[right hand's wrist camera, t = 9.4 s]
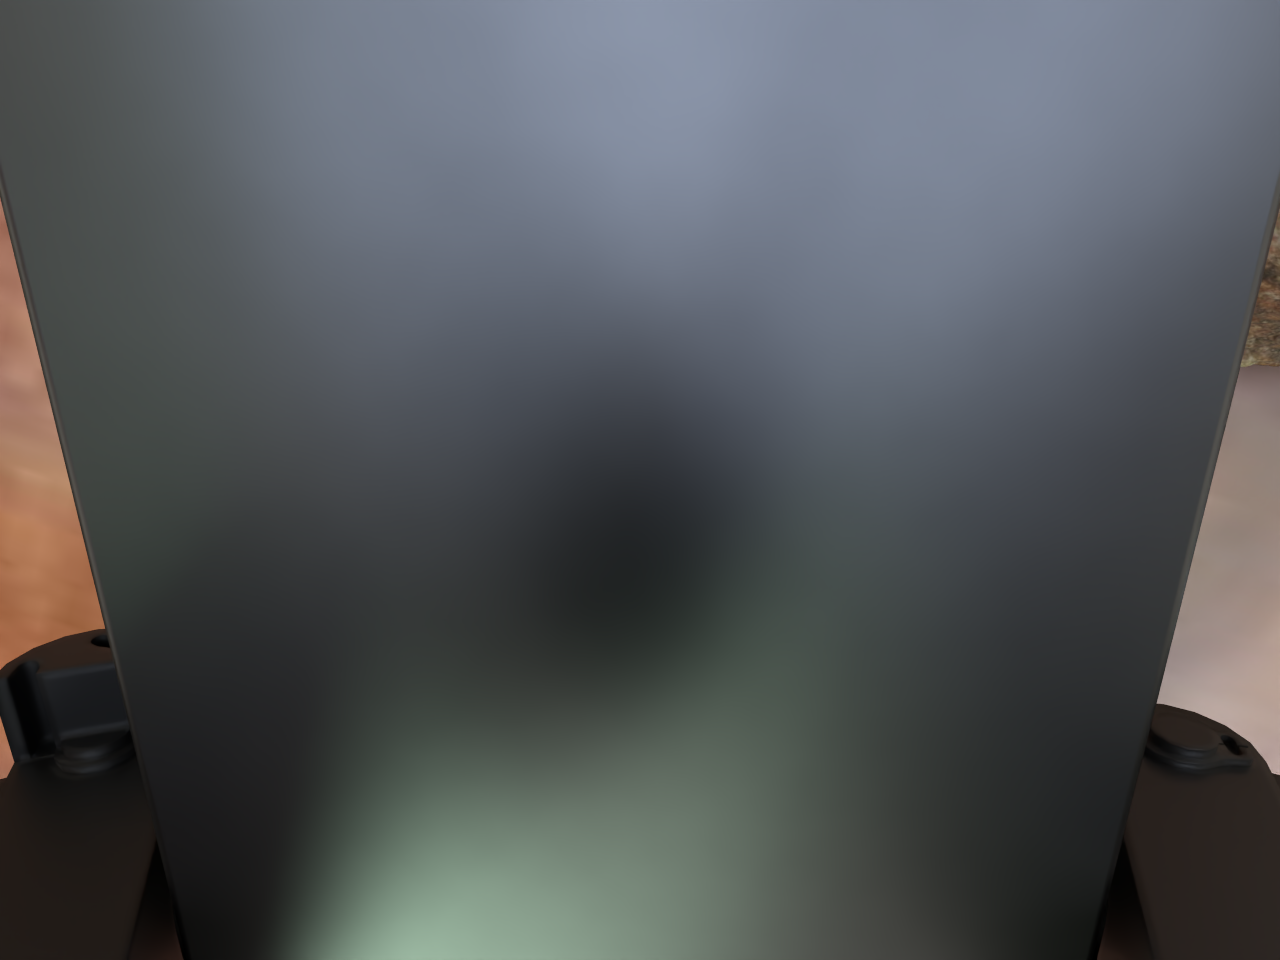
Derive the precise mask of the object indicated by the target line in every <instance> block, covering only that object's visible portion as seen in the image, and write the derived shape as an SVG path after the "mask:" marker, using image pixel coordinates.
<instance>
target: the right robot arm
mask: <svg viewBox="0 0 1280 960" xmlns="http://www.w3.org/2000/svg"><path fill="white" fill-rule="evenodd" d="M0 717H1V720H2V723H3V726H4V730H5V733H6V736H7V739H8V743H9V746H10V749H11V752H12V756H13V759H14V762H15V763H14V765H13V767H12V769H11V770H10V772H9V774H8V776H7V778H4V779H0V960H186V957H185V953H184V949H183V945H182V941H181V937H180V933H179V928H178V924H177V920H176V916H175V912H174V908H173V904H172V900H171V896H170V892H169V887H168V883H167V879H166V875H165V871H164V867H163V863H162V859H161V855H160V851H159V846H158V842H157V838H156V834H155V830H154V826H153V822H152V818H151V814H150V809H149V805H148V801H147V797H146V793H145V789H144V785H143V781H142V777H141V773H140V768H139V764H138V760H137V756H136V752H135V748H134V744H133V740H132V736H131V732H130V727H129V723H128V719H127V715H126V711H125V707H124V703H123V699H122V695H121V691H120V686H119V682H118V678H117V674H116V670H115V666H114V662H113V658H112V654H111V649H110V645H109V641H108V637H107V633H106V629H97V630H93V631H88V632H83V633H79V634H74V635H70V636H65V637H62V638H60V639H57V640H54V641H52V642H49V643H46V644H44V645H41V646H38V647H36V648H33V649H31V650H30V651H28V652H26V653H24V654H23V655H21V656H19V657H17V658H16V659H14V660H12V661H11V662H9V663H7V664H6V665H5V666H4V667H3V668H2V669H1V670H0ZM1093 960H1280V775H1277V774H1273V773H1271V771H1270V769H1269V767H1268V765H1267V763H1266V761H1265V760H1264V759H1263V758H1262V756H1261V755H1260V754H1259V753H1258V751H1257V750H1256V749H1255V748H1254V747H1253V745H1252V744H1251V743H1250V742H1249V741H1247V740H1246V739H1244V738H1243V737H1241V736H1240V735H1238V734H1237V733H1235V732H1234V731H1232V730H1231V729H1230V728H1228V727H1227V726H1225V725H1223V724H1221V723H1218V722H1216V721H1214V720H1211V719H1209V718H1207V717H1205V716H1202V715H1200V714H1198V713H1196V712H1192V711H1188V710H1184V709H1180V708H1176V707H1172V706H1168V705H1164V704H1156V707H1155V711H1154V715H1153V719H1152V723H1151V727H1150V731H1149V735H1148V739H1147V743H1146V747H1145V751H1144V755H1143V759H1142V763H1141V767H1140V771H1139V775H1138V779H1137V783H1136V787H1135V791H1134V795H1133V799H1132V803H1131V807H1130V811H1129V815H1128V819H1127V823H1126V827H1125V831H1124V835H1123V839H1122V843H1121V847H1120V851H1119V855H1118V859H1117V863H1116V867H1115V871H1114V875H1113V879H1112V883H1111V887H1110V891H1109V895H1108V899H1107V903H1106V907H1105V911H1104V915H1103V920H1102V924H1101V928H1100V932H1099V936H1098V940H1097V944H1096V948H1095V952H1094V956H1093Z"/></svg>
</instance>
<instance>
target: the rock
mask: <svg viewBox="0 0 1280 960" xmlns="http://www.w3.org/2000/svg"><path fill="white" fill-rule="evenodd" d="M1253 364H1257V365H1263V366H1265V365H1269V366H1280V209H1279V213H1278V217H1277V221H1276V225H1275V229H1274V233H1273V237H1272V241H1271V245H1270V249H1269V254H1268V258H1267V262H1266V266H1265V270H1264V274H1263V278H1262V282H1261V286H1260V290H1259V294H1258V298H1257V302H1256V306H1255V310H1254V314H1253V318H1252V322H1251V326H1250V330H1249V334H1248V338H1247V342H1246V346H1245V350H1244V354H1243V358H1242V362H1241V366H1240V367H1247V366H1251V365H1253Z"/></svg>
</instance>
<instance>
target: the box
mask: <svg viewBox="0 0 1280 960" xmlns="http://www.w3.org/2000/svg"><path fill="white" fill-rule="evenodd" d="M0 198H1V202H2V206H3V211H4V215H5V219H6V223H7V227H8V231H9V235H10V239H11V243H12V247H13V252H14V256H15V260H16V264H17V268H18V272H19V276H20V280H21V284H22V288H23V293H24V297H25V301H26V305H27V309H28V313H29V317H30V321H31V325H32V330H33V334H34V338H35V342H36V346H37V350H38V354H39V358H40V362H41V366H42V371H43V375H44V379H45V383H46V387H47V391H48V395H49V399H50V403H51V407H52V412H53V416H54V420H55V424H56V428H57V432H58V436H59V440H60V444H61V448H62V453H63V457H64V461H65V465H66V469H67V473H68V477H69V481H70V485H71V490H72V494H73V498H74V502H75V506H76V510H77V514H78V518H79V522H80V526H81V531H82V535H83V539H84V543H85V547H86V551H87V555H88V559H89V563H90V567H91V572H92V576H93V580H94V584H95V588H96V592H97V596H98V600H99V604H100V608H101V613H102V617H103V621H104V625H105V629H106V633H107V637H108V641H109V645H110V649H111V654H112V658H113V662H114V666H115V670H116V674H117V678H118V682H119V686H120V691H121V695H122V699H123V703H124V707H125V711H126V715H127V719H128V723H129V727H130V732H131V736H132V740H133V744H134V748H135V752H136V756H137V760H138V764H139V768H140V773H141V777H142V781H143V785H144V789H145V793H146V797H147V801H148V805H149V809H150V814H151V818H152V822H153V826H154V830H155V834H156V838H157V842H158V846H159V851H160V855H161V859H162V863H163V867H164V871H165V875H166V879H167V883H168V887H169V892H170V896H171V900H172V904H173V908H174V912H175V916H176V920H177V924H178V928H179V933H180V937H181V941H182V945H183V949H184V953H185V957H186V960H1093V956H1094V952H1095V948H1096V944H1097V940H1098V936H1099V932H1100V928H1101V924H1102V920H1103V915H1104V911H1105V907H1106V903H1107V899H1108V895H1109V891H1110V887H1111V883H1112V879H1113V875H1114V871H1115V867H1116V863H1117V859H1118V855H1119V851H1120V847H1121V843H1122V839H1123V835H1124V831H1125V827H1126V823H1127V819H1128V815H1129V811H1130V807H1131V803H1132V799H1133V795H1134V791H1135V787H1136V783H1137V779H1138V775H1139V771H1140V767H1141V763H1142V759H1143V755H1144V751H1145V747H1146V743H1147V739H1148V735H1149V731H1150V727H1151V723H1152V719H1153V715H1154V711H1155V707H1156V703H1157V699H1158V695H1159V691H1160V687H1161V683H1162V679H1163V675H1164V671H1165V667H1166V663H1167V659H1168V655H1169V651H1170V647H1171V643H1172V639H1173V635H1174V631H1175V627H1176V623H1177V619H1178V615H1179V611H1180V607H1181V603H1182V599H1183V595H1184V591H1185V587H1186V582H1187V578H1188V574H1189V570H1190V566H1191V562H1192V558H1193V554H1194V550H1195V546H1196V542H1197V538H1198V534H1199V530H1200V526H1201V522H1202V518H1203V514H1204V510H1205V506H1206V502H1207V498H1208V494H1209V490H1210V486H1211V482H1212V478H1213V474H1214V470H1215V466H1216V462H1217V458H1218V454H1219V450H1220V446H1221V442H1222V438H1223V434H1224V430H1225V426H1226V422H1227V418H1228V414H1229V410H1230V406H1231V402H1232V398H1233V394H1234V390H1235V386H1236V382H1237V378H1238V374H1239V370H1240V366H1241V362H1242V358H1243V354H1244V350H1245V346H1246V342H1247V338H1248V334H1249V330H1250V326H1251V322H1252V318H1253V314H1254V310H1255V306H1256V302H1257V298H1258V294H1259V290H1260V286H1261V282H1262V278H1263V274H1264V270H1265V266H1266V262H1267V258H1268V254H1269V249H1270V245H1271V241H1272V237H1273V233H1274V229H1275V225H1276V221H1277V217H1278V213H1279V209H1280V0H0Z"/></svg>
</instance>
